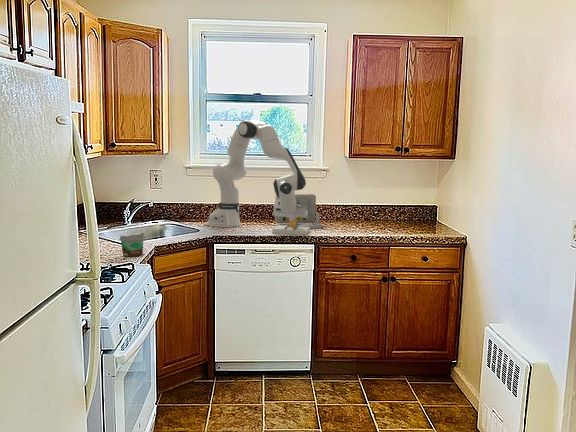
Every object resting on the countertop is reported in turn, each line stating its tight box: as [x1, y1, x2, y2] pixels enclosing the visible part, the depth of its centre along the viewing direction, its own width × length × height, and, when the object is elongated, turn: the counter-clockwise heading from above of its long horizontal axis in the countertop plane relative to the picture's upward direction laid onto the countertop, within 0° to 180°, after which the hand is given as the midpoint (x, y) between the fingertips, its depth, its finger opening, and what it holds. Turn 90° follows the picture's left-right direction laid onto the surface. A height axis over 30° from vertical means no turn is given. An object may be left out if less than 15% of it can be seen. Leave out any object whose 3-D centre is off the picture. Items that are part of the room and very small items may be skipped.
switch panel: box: [271, 224, 311, 236], centre depth 327 cm, size 20×14×3 cm
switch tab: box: [288, 217, 296, 227], centre depth 331 cm, size 4×3×8 cm
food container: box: [119, 232, 146, 258], centre depth 256 cm, size 12×6×10 cm, turn 138°
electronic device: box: [299, 212, 323, 230], centre depth 343 cm, size 5×10×15 cm
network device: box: [274, 193, 317, 226], centre depth 350 cm, size 26×9×20 cm, turn 105°
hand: (291, 219), depth 328 cm, fingers closed
